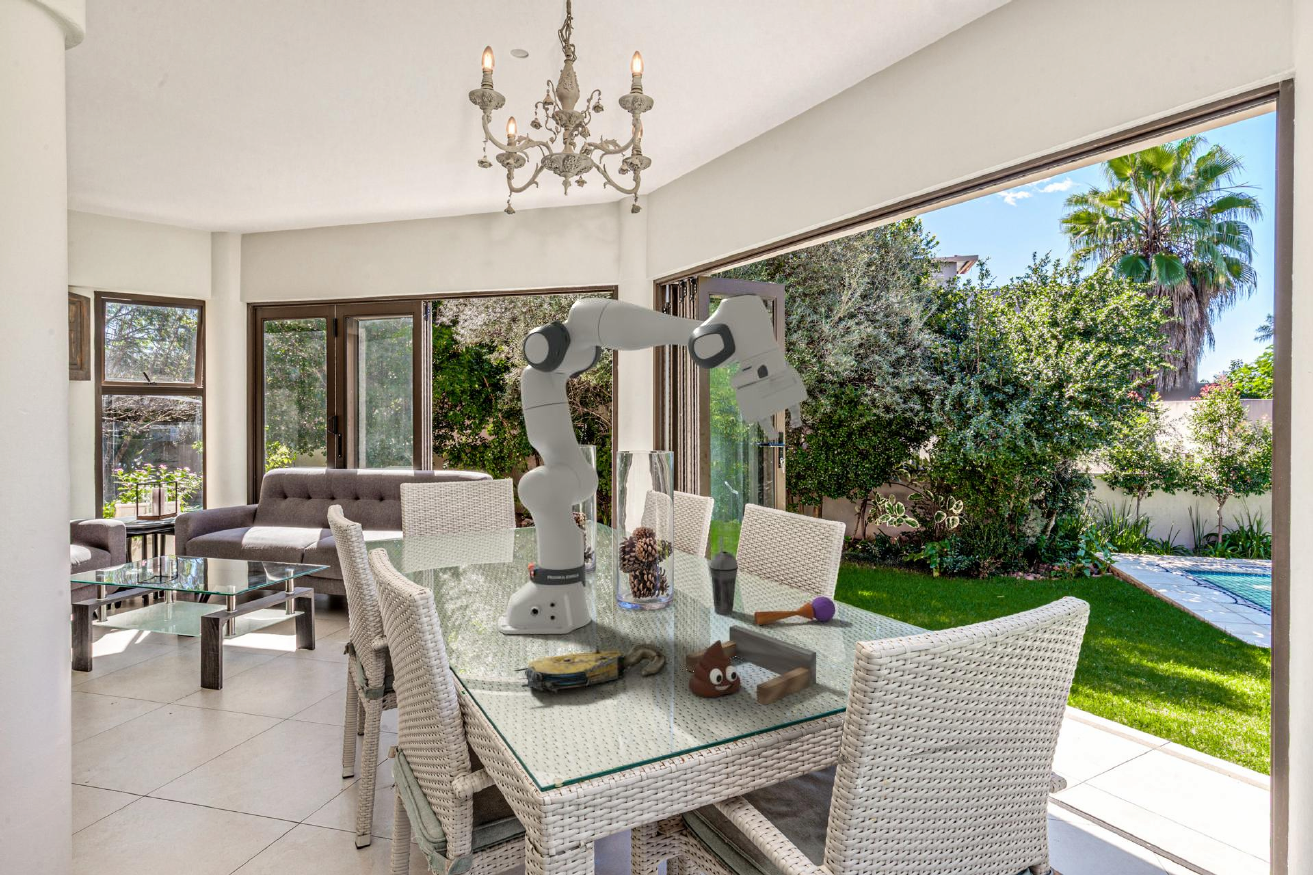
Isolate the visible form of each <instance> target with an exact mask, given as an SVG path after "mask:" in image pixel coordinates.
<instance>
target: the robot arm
mask: <svg viewBox="0 0 1313 875" xmlns="http://www.w3.org/2000/svg"><path fill="white" fill-rule="evenodd" d="M666 345H667V346H668V345H677V346H684V347H687V349H688V353H689V357H690V359H691V360H692V362H693V363H694V364H695V365H696V366H698V367H699V368H701V369H704V370H716V369H720V368H723V367H727V366H730V365H732V364H738V365H739V368H738V369H737V371H736V372H735V373H734V374H733V375H732V377H731V378H730V379H729V383H730V386H731V388H732V389H733V390H735V395H734V396H735V399H736V403H737V405H738V409H739V411H740V414H741V417H742V419H743V421H745V423H747V424H748V425H752V424H754V423H758V424H759V427H760V428H761V429H762V430H763V431H764V432H765V433H766V436H767V438H768V441H774V440H776V439H779V438H780V433H779V431H778V428H774V426H773V425H772V418H771V417H772V416H774V415H776V414H778V413H781V412H782V411H784V410H787V411H788V412H790V418H791V420H789V423H790V426H791V428H792V429H795V428H799V427H802V425H803V421H802V419H801V405H800V403H802V402H804V401H806V400H807V399H808V393H807V389H806V387H805V384H804V382H803V380H802V378H801V375H800V373H799V372H798V370H796V368H794V366H793V365H792V364H791V363H790V362H788V361H787V360H785V358H784V355H783V351H782V349H781V346H780V344H779V342H778V341H777V339H776V338H775V334H774V325H773V322H772V320H771V318H770V315H769V312H768V310H767V307H766V306H765V303H764V302H763V300H762V298H761V297H760V296H759V295H758V294H756V293H755V292H749V291H748V292H743V293H738V294H732V295H731V294H730V295H728V296H725V297H724V298H723V299H721V301H720V303H719V305H718V307H717V308H716V310H715V311H714V312H713V313H712V315H711V316H709V318H708V319H706V320H702V319H696V318H689V317H683V316H675V315H672V314H668V313H665V312H664V313H663V312H661V311H658V310H654V309H652V308H651V309H650V308H648V307H643V306H641V305H638V304H635V303H630V302H627V301H623V300H617V299H613V298H611V299H610V298H603V297H601V298H600V297H589V298H585V297H584V298H581V299H578V300H576V301H575V303H573V304H572V305H571V307H570V308H569V312H568V316H567V319H566V320H565V321H563V322H562V321H559V320H557V319H555V320H553V321H551V322H547V323H546V324H543V325H541V326H538V327H535V328H533V329H532V330H530V331H529V332H528V333H527V334H526V335H525V337H524V340H523V344H522V354H523V357H524V360H525V362H526V363H527V364H528V365H527V366H526V367H524V368H523V370H522V372H521V374H520V393H521V394H520V395H521V396H520V398H521V399H520V400H521V406H522V411H523V416H524V417H523V418H524V423H525V429H526V434H527V440H528V442H529V444H530V445H531V447H533V448H534V449H535V450H536V451H537V453H538V454H539V455H540V457H541V460H542V462H543V464H544V465H540V466H537V467H535V468H533V469H531V470H529V471H528V472H526V473H524V474H523V475H522V477H521V478H520V480H519V483H518V484H517V495H518V498H519V501H520V502H521V504H522V505H523V507H525V508H526V510H527V511H528V512H529V513H530V515H531V517H532V521H533V523H534V527H535V530H536V539H537V561H538V562H537V563H536V564H535V563H530V564H528V566H527V571H528V572H529V581H528V582H527V583H525V584H524V585H522V587H520V588H519V589H517V591H515V592H514V593H513V594H512V595H511V596H510V597H509V600H508V604H507V607H506V612H504V613H503V614H501V615H500V616H499V617H498V619H497V627H496V628H497V630H498V631H499V632H500V633H502V634H504V635H540V634H541V635H553V634H555V635H556V634H557V635H558V634H559V635H560V634H561V635H564V634H568V633H570V632H572V631H573V630H576V629H578V628H579V629H580V628H582V627H585V626H586V625H588V624H589V623H590V622H591V620H592V617H591V615H590V611H589V607H588V602H587V595H586V594H587V593H586V585H587V584H586V583H587V567H586V563H585V561H584V560H585V558H584V556H585V555H584V549H585V548H584V532H583V530H582V529H581V528H580V527H579V526H578V524H577V523H576V520H575V517H574V512H573V506H575V505H579V504H582V503H584V502H585V501H587V500H588V499H590V498H591V497H592V496H594V494H595V493H596V492H597V489H598V487H599V476H598V472H597V471H596V469H595V468H594V467H593V466H592V465H591V464H590V463H589V462H588V461H587V459H586V457H585V455H584V454H583V451H582V449H581V447H580V444H579V442H578V440H577V438H576V434H575V431H574V426H573V421H572V420H573V419H572V416H571V411H570V405H569V399H568V395H567V389H566V388H567V386H566V385H567V381H568V380H569V378H570V379H577V378H578V377H580V376H581V375H582V374H584V373H587V371H589V370H592V369H593V368H594V367H595V366H597V365H598V363H599V361H600V360H601V357H602V350H603V348H606V349H610V350H615V351H625V352H626V351H628V352H629V351H630V352H631V351H640V350H644V349H649V348H654V347H659V346H666Z"/></svg>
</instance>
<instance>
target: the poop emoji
mask: <svg viewBox="0 0 1313 875" xmlns="http://www.w3.org/2000/svg"><path fill="white" fill-rule="evenodd" d="M721 643H722V641H721V640H720V639H718V640H716V641H715V642H714V643H712V644H711V645H710V646H708V647H707V648H708V649H707V650H706V652H705V653H704V655H703V656H702V657H701V658H700V660H699V664H696V665H695V667H694V672H693V673H692V675H691V676H690V679H689V680H688V682H689V684H688V688H689V689H690V691H691V692H692V693H693V694H694V695H696V696H698V697H702V698H707V697H711V698H717V697H720V696H721V695H724V694H726V695H732V694H735V693H736V692H738V690H739V689H740V688H741V682H742V681H741V678H740V676H739V675H738V671H737V668H735V666H734V665H733V664H732V661H731V659H730V658H729V656H728V655H726V654H725V653H724V651H723V648H722V645H721Z"/></svg>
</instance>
